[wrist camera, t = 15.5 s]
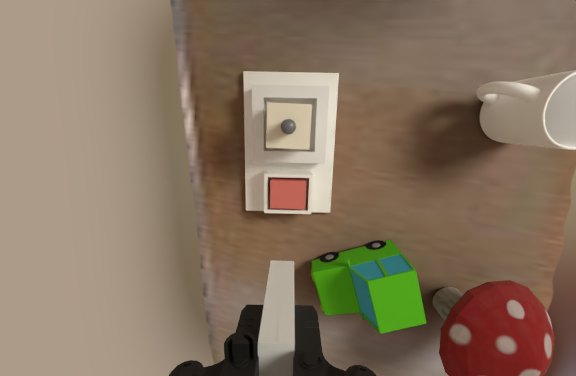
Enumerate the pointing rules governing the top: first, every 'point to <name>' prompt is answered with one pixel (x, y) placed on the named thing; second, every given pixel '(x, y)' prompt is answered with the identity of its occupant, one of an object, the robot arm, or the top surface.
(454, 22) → the top surface
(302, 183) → the switch
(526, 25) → the top surface
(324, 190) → the socket plate
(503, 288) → the decorative mushroom
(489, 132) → the mug
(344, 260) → the toy car
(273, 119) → the plug
